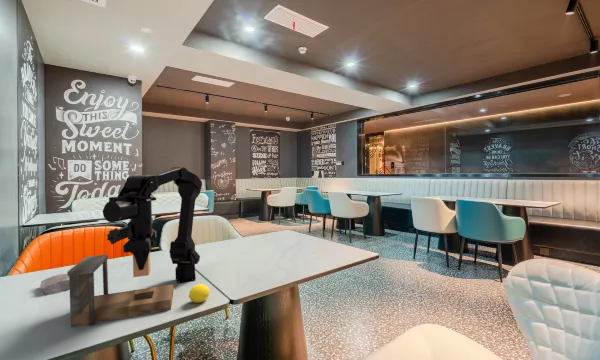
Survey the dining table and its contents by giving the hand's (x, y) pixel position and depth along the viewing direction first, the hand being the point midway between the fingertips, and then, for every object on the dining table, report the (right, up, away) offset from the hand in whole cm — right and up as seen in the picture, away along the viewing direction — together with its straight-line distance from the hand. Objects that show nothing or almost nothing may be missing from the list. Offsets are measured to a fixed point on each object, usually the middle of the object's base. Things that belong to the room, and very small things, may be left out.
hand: (142, 267), depth 84 cm
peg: (0, -2, 0) cm, 2 cm away
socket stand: (-4, -12, -1) cm, 12 cm away
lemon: (+16, -12, +2) cm, 20 cm away
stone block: (-39, -12, +15) cm, 43 cm away
